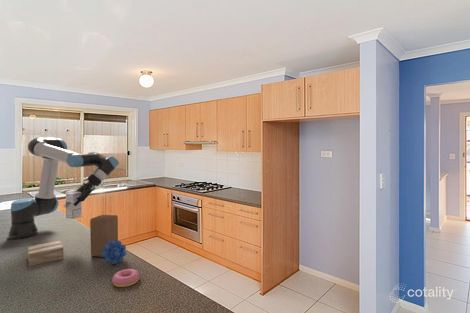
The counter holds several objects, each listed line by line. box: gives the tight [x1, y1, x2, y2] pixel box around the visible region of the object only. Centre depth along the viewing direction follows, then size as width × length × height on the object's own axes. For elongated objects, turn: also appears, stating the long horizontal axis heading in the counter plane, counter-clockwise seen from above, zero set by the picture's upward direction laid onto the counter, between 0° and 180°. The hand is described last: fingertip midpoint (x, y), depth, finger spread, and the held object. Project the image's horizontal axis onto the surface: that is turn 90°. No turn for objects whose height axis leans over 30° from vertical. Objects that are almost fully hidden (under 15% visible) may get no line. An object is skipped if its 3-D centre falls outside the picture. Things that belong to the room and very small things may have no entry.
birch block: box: [27, 240, 64, 267], centre depth 138 cm, size 14×14×6 cm
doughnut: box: [111, 268, 141, 288], centre depth 113 cm, size 11×11×4 cm
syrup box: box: [65, 191, 83, 220], centre depth 153 cm, size 6×6×14 cm
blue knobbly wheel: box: [102, 240, 127, 265], centre depth 130 cm, size 12×7×12 cm, turn 135°
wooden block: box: [89, 214, 119, 258], centre depth 143 cm, size 10×10×20 cm
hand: (67, 208), depth 150 cm, fingers closed on syrup box, 7 cm apart
